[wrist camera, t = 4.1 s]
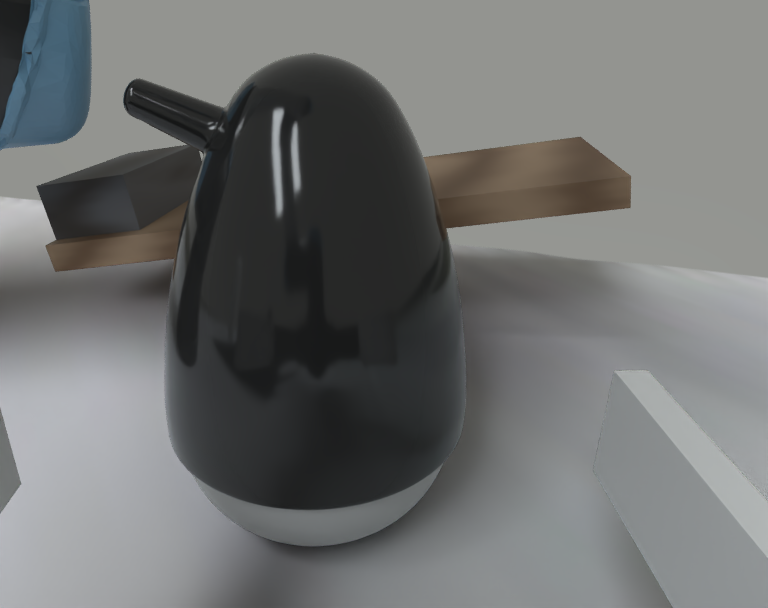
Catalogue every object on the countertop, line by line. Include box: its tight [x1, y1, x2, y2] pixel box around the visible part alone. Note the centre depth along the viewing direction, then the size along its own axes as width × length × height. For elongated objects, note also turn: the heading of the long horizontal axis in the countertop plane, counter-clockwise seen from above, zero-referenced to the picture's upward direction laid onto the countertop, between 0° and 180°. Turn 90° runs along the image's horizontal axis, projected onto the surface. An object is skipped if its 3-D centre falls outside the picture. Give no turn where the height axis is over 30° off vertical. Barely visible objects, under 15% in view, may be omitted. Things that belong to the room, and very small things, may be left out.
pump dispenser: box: [123, 53, 466, 546], centre depth 20 cm, size 10×10×15 cm
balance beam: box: [37, 137, 631, 272], centre depth 35 cm, size 30×12×4 cm, turn 84°
